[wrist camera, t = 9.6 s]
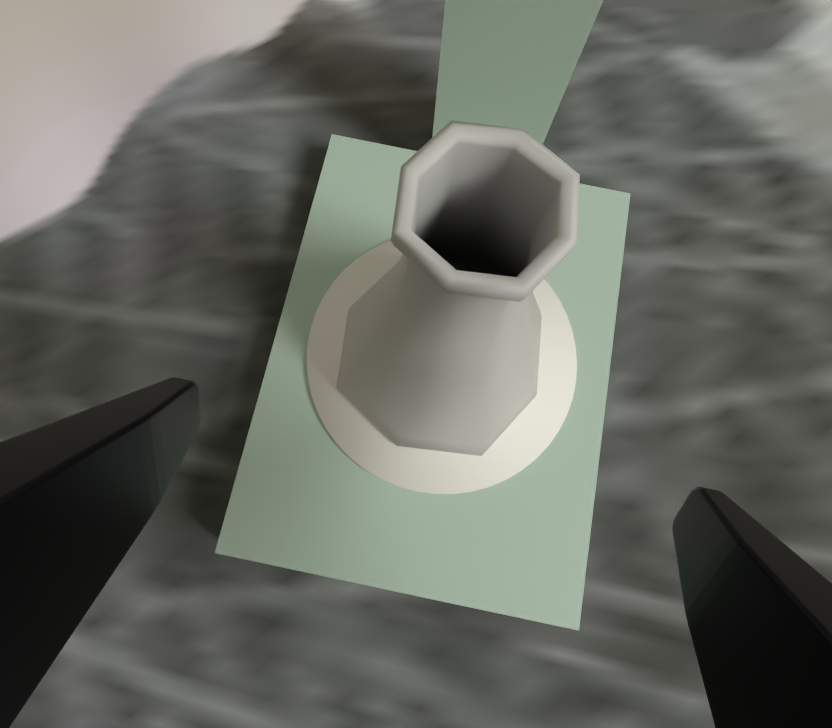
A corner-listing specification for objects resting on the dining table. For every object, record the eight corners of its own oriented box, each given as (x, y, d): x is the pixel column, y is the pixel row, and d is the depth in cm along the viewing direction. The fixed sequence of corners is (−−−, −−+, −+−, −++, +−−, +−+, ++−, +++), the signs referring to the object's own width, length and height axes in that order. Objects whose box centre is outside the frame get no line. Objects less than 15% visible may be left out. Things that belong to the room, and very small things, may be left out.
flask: (301, 401, 18) (182, 299, 8) (392, 228, 19) (385, -33, 10) (494, 492, 17) (618, 503, 7) (571, 307, 19) (756, 117, 9)
